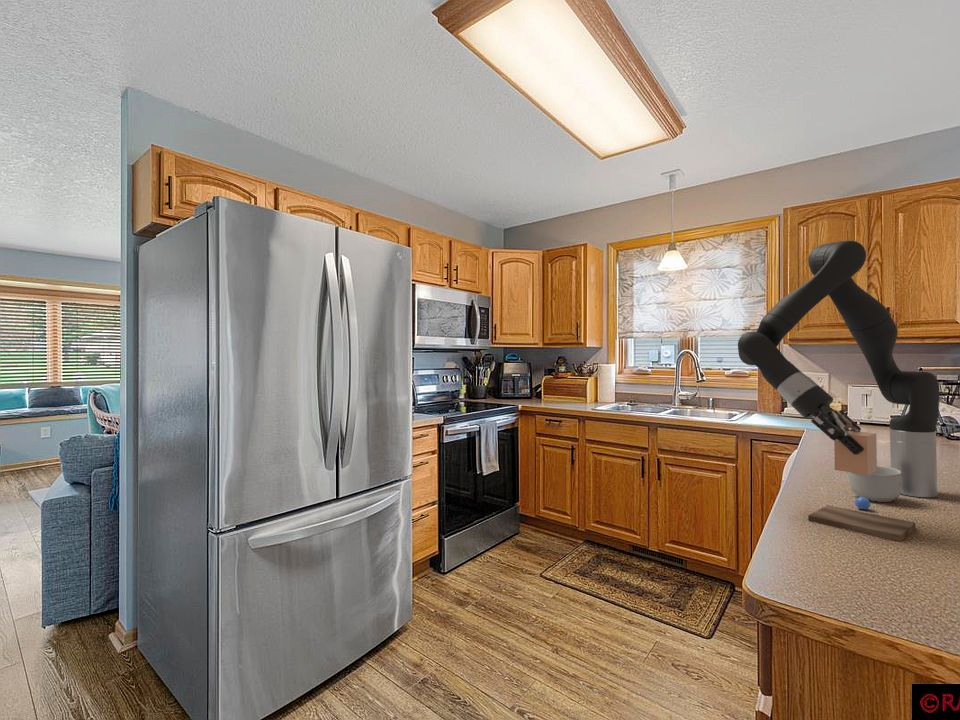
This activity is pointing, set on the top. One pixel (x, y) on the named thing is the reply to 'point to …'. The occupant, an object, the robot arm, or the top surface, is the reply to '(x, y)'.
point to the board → (863, 522)
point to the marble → (862, 503)
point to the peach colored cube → (863, 460)
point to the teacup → (877, 484)
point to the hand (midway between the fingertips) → (865, 450)
